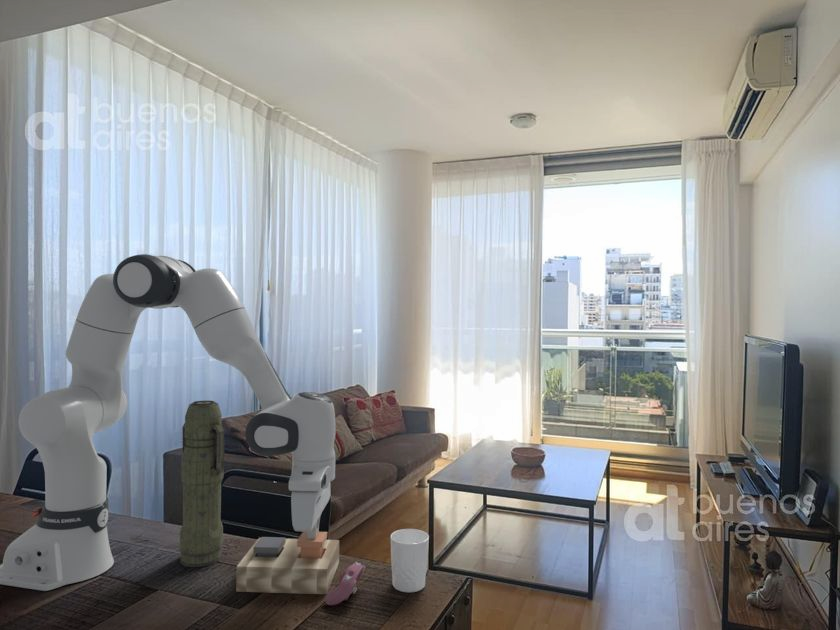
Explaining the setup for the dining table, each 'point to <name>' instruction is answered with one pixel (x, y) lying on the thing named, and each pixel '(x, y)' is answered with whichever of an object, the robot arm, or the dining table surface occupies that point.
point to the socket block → (288, 570)
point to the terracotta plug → (312, 545)
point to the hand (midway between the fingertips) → (312, 536)
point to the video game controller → (346, 584)
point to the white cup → (409, 559)
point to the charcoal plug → (269, 546)
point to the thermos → (202, 485)
